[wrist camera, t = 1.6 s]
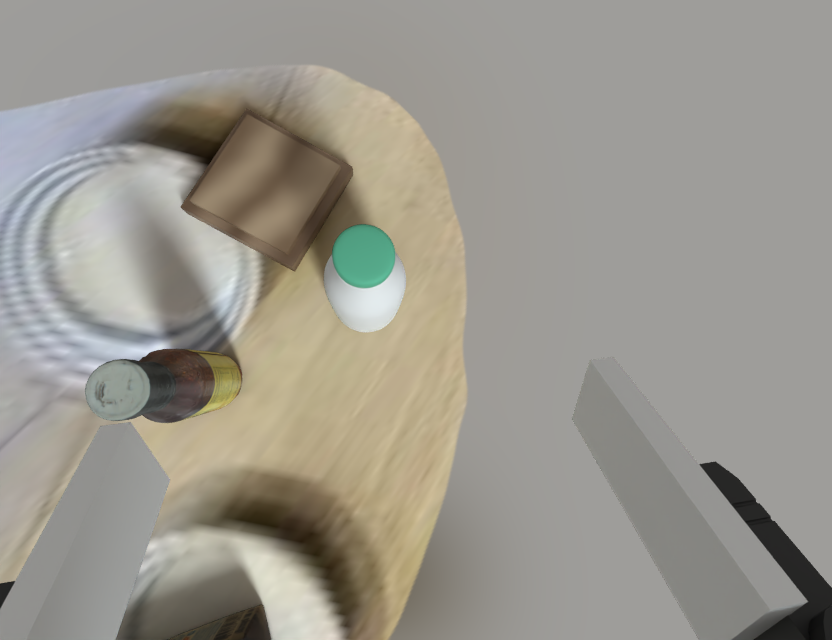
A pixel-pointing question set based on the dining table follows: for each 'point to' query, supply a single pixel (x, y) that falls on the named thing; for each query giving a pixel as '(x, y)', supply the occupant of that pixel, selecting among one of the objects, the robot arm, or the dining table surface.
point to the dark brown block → (232, 627)
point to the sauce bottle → (163, 385)
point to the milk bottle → (364, 278)
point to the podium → (268, 189)
